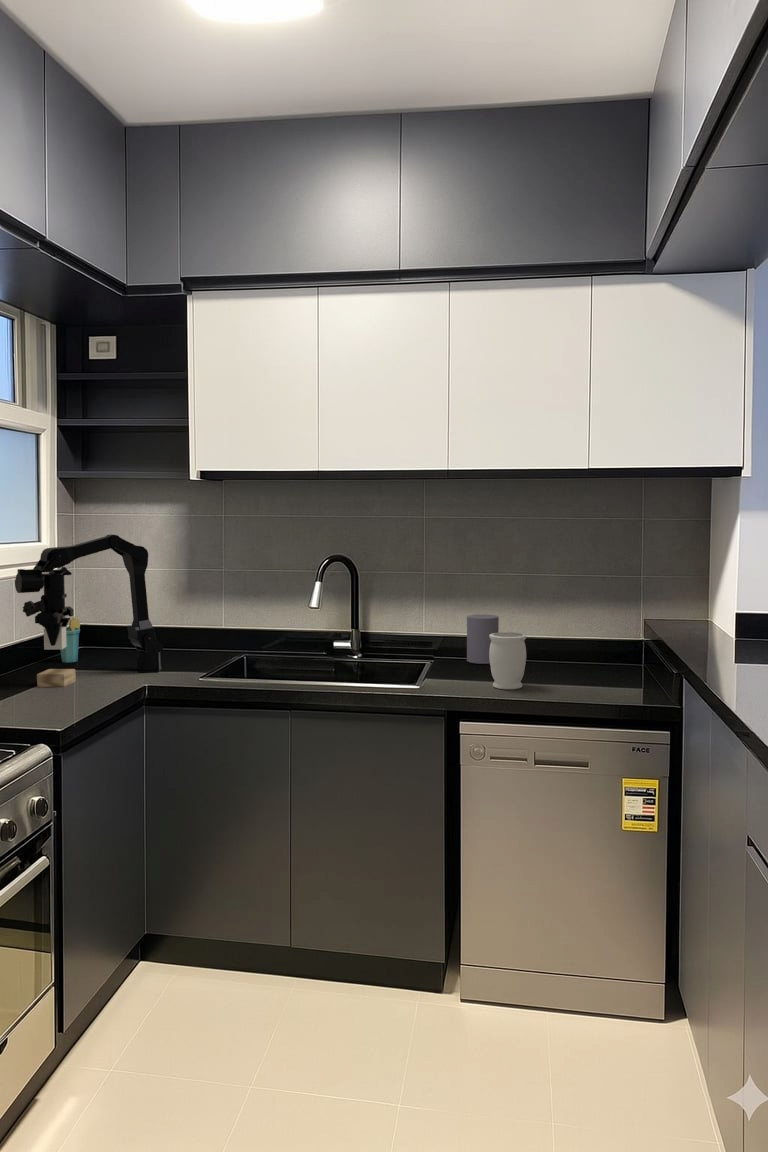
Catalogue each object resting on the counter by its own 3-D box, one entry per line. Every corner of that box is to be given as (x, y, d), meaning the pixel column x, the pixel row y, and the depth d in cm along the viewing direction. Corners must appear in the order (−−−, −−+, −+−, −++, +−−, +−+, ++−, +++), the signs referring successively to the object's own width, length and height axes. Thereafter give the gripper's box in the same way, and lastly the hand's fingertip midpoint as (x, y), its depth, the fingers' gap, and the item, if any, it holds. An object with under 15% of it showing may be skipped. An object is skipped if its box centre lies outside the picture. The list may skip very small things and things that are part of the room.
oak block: (75, 682, 262) (75, 669, 261) (64, 687, 254) (63, 674, 253) (49, 682, 262) (49, 669, 262) (37, 687, 254) (36, 674, 254)
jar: (516, 692, 242) (517, 638, 241) (482, 688, 248) (483, 635, 246) (531, 685, 251) (532, 633, 250) (498, 681, 257) (498, 630, 255)
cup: (71, 665, 287) (70, 620, 286) (48, 665, 287) (46, 620, 286) (88, 657, 301) (86, 614, 300) (65, 657, 301) (64, 614, 300)
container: (485, 657, 295) (485, 613, 294) (504, 662, 286) (505, 617, 285) (460, 661, 290) (460, 615, 289) (479, 665, 281) (479, 619, 280)
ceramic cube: (66, 646, 260) (66, 626, 259) (61, 649, 255) (61, 628, 255) (49, 646, 259) (48, 626, 259) (44, 649, 255) (43, 629, 254)
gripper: (35, 588, 264) (36, 639, 266) (15, 594, 246) (16, 649, 247) (73, 588, 265) (74, 639, 267) (56, 594, 247) (57, 649, 248)
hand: (55, 644), depth 257 cm, fingers closed on ceramic cube, 5 cm apart
